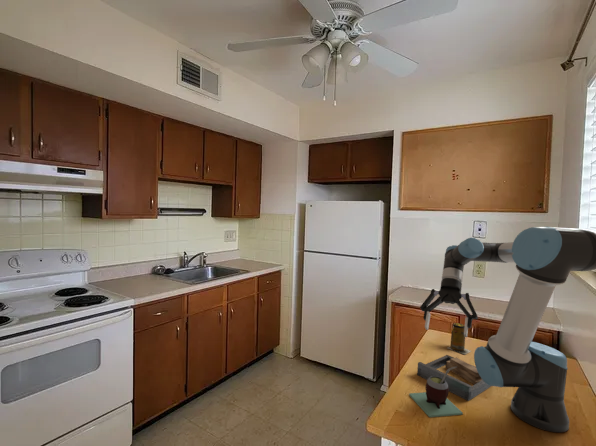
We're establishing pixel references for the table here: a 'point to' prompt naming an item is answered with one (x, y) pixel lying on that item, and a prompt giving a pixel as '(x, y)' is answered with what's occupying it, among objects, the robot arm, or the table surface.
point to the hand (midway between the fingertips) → (445, 332)
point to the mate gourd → (437, 389)
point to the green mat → (432, 408)
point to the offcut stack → (464, 370)
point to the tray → (451, 379)
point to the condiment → (458, 339)
